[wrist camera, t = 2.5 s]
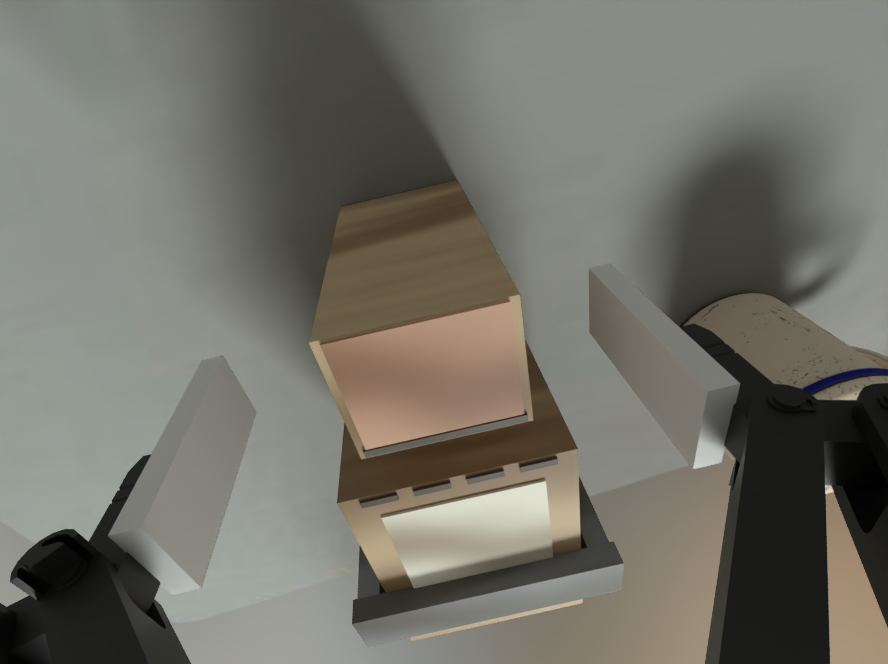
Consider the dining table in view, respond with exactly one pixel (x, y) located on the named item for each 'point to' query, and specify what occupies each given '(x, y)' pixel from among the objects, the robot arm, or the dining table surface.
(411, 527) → the tan wooden crate
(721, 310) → the teacup with lid
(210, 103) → the dining table surface
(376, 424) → the pink-ended wooden block
